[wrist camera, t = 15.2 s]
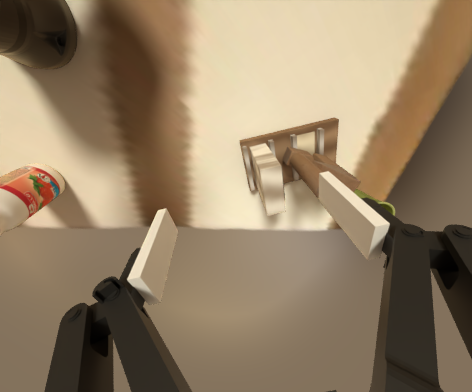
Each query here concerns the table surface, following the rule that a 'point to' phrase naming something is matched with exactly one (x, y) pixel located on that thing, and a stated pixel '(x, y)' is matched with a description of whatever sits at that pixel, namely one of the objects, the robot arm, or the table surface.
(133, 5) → the table surface
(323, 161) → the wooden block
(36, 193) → the fruit juice
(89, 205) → the table surface
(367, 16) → the table surface
